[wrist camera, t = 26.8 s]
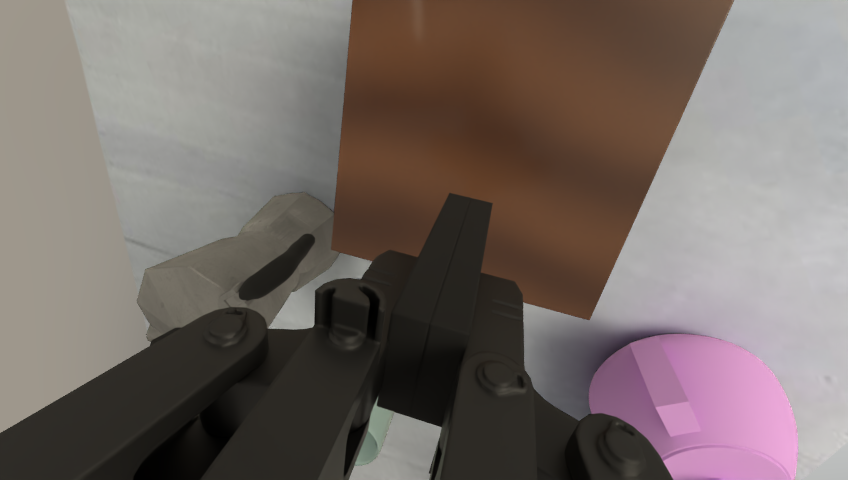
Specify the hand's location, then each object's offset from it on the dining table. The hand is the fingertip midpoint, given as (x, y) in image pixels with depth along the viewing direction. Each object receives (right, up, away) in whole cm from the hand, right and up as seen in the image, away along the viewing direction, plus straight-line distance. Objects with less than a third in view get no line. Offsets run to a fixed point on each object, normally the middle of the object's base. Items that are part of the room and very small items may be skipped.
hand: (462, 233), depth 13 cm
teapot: (+23, -15, +24) cm, 36 cm away
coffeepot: (-13, +1, +25) cm, 29 cm away
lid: (+2, +4, +4) cm, 6 cm away
